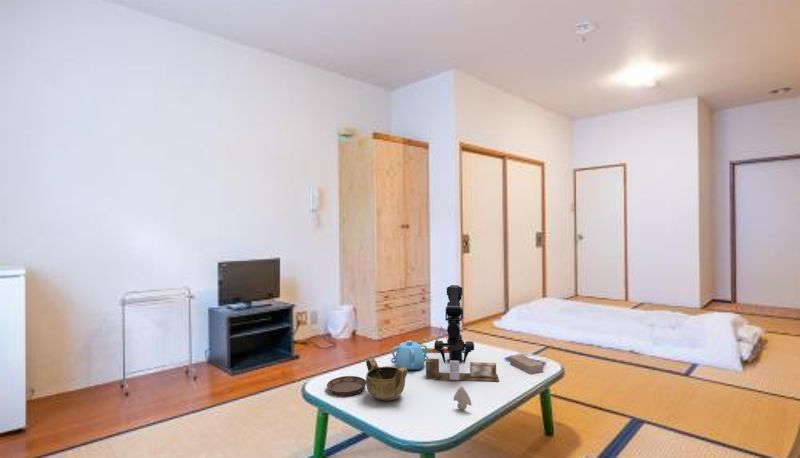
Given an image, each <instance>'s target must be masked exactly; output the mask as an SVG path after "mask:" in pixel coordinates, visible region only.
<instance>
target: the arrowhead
mask: <svg viewBox="0 0 800 458" xmlns="http://www.w3.org/2000/svg"><path fill="white" fill-rule="evenodd" d="M453 401H454V402H455V401H456V402H457V403H458V404H457V405H456V407H457V408H458V409H459V410H461V411H465V410H466V409H467V406H470V407H471V406H472V401H471V397H470V396H469V394H468V392H467V391H466V389H465V388H464V386H461V385H460V387H459V388H458V389H457V391H456V392H455V394H454V395H453Z"/></svg>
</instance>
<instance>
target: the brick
mask: <svg viewBox="0 0 800 458" xmlns="http://www.w3.org/2000/svg"><path fill="white" fill-rule="evenodd" d="M509 365H511V366H512V367H514V368H516V369H519V370H521V371H522V372H525V373H526V374H529V375H535V374H540V373H541V374H543V372H544V368H543V367H544V365H543V364H542V363H540V362H539V361H536V360H533V359H531V358H530V357H528V356H527V355H524V354H517V355H511V356H510V357H509Z"/></svg>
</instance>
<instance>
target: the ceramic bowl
mask: <svg viewBox="0 0 800 458" xmlns="http://www.w3.org/2000/svg"><path fill="white" fill-rule="evenodd" d="M365 364H366V367H367V368H366V369H367V370H368V371H367V373H366V375H365V380H366V385H365V387H366V389H367V392H368V393H369V395H370V396H371V397H373V398H374V399H376V400H379V401H385V402H389V401H392V400H395V399H397V398H399V396H400V395H401V394H402V393H403V391H404V389H405V386H406V378H407V375H408V369H406V368H405V367H403V368H399V367H398V366H397V367H396V366H389V365H388V366H387V365H386V366H379V365H378V363H377V360H376V359H375V358H374V357H372V358H369V359H367V360H366V361H365Z"/></svg>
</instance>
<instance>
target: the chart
mask: <svg viewBox="0 0 800 458" xmlns="http://www.w3.org/2000/svg"><path fill="white" fill-rule="evenodd" d="M441 331H442V332H443V334H444V336H445V338H446V339H448V335H446V333H445V331H444V329H443V327H442V325H441V326H440V329H439V333H438V334H437V335H438V336H437V338H435V337H434V336H431V337H430V338H429V339H426V338H422V340H421V342H420V343H419V345H422V344H423V342H424V341H425V342H427V343H429V342H430V341H432V339H433V340H434V341H439V337H440V333H441ZM421 349H422V351H423V354H424V353H425V347H423V348H422V347H421ZM427 349H428V350H427V354H441V353H440V352H439V351H437V350H436V349H434V348H433V347H431V348H428V347H427ZM464 351H465V350H463V351H462V354H464ZM444 354H449V351H447V347H444Z"/></svg>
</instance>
